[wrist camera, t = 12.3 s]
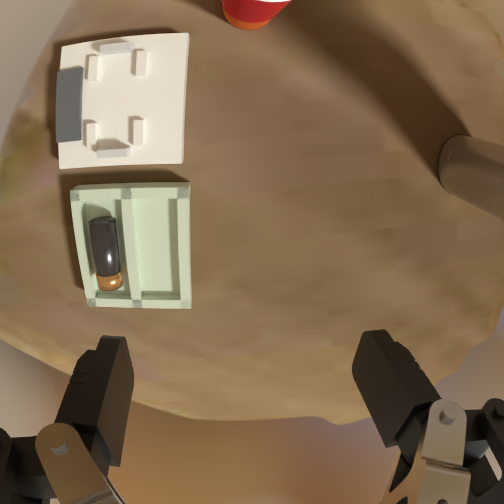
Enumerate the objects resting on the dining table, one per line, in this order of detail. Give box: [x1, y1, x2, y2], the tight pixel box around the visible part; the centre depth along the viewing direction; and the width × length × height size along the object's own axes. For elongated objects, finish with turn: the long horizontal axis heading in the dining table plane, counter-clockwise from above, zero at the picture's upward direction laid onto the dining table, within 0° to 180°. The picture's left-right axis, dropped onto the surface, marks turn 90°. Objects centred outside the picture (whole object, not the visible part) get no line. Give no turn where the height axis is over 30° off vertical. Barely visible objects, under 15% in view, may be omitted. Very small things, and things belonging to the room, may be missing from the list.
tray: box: [70, 182, 192, 309], centre depth 35 cm, size 14×15×3 cm
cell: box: [88, 216, 123, 291], centre depth 34 cm, size 3×9×3 cm, turn 177°
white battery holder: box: [56, 33, 190, 169], centre depth 28 cm, size 14×14×4 cm
